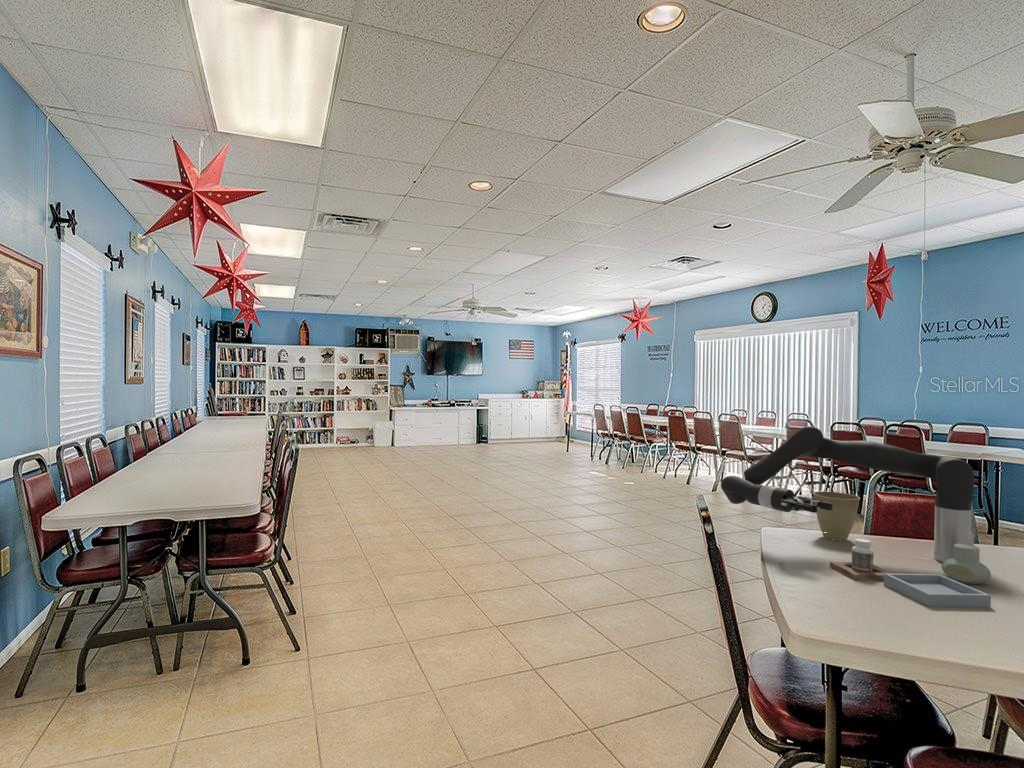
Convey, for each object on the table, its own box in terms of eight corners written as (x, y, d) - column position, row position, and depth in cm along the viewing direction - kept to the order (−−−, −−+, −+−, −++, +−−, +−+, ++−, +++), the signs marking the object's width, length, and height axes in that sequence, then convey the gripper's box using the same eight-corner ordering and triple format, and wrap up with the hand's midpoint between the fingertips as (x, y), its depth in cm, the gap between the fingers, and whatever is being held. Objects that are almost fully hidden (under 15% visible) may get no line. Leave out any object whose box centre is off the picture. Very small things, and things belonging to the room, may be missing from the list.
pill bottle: (875, 577, 160) (876, 543, 160) (854, 575, 162) (854, 541, 162) (869, 571, 165) (870, 539, 165) (849, 569, 167) (849, 537, 167)
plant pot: (804, 536, 205) (805, 493, 206) (823, 531, 214) (823, 490, 215) (848, 546, 194) (849, 500, 194) (866, 540, 203) (866, 496, 203)
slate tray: (939, 585, 155) (939, 574, 155) (990, 607, 139) (990, 595, 139) (883, 584, 155) (883, 573, 155) (928, 606, 139) (928, 594, 139)
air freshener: (995, 584, 157) (996, 549, 157) (983, 589, 153) (983, 552, 153) (949, 573, 166) (950, 539, 166) (936, 577, 162) (937, 543, 162)
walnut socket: (868, 567, 170) (868, 562, 170) (896, 580, 158) (896, 575, 158) (829, 566, 169) (829, 561, 169) (855, 580, 157) (855, 574, 157)
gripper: (763, 488, 183) (812, 497, 170) (789, 486, 191) (837, 494, 177) (762, 511, 183) (811, 522, 170) (788, 507, 191) (836, 518, 177)
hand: (824, 508), depth 173 cm, fingers open, 8 cm apart
